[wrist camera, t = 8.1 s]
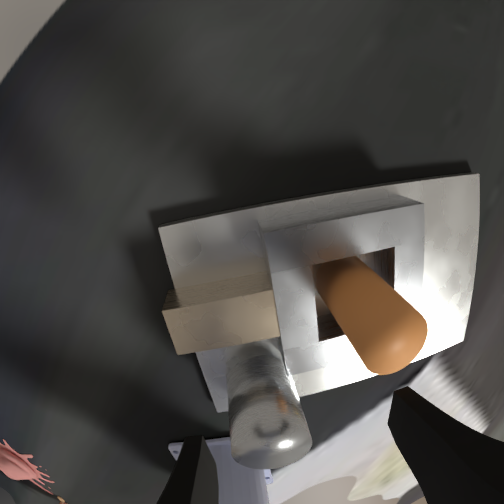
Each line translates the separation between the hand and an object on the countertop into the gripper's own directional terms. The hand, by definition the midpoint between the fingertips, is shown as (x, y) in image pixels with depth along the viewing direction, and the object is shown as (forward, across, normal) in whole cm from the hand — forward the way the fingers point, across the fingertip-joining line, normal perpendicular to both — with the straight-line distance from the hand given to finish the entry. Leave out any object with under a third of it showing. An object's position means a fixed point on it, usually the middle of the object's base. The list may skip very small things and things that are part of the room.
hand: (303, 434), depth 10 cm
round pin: (+9, -5, -2) cm, 10 cm away
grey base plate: (+10, -6, 0) cm, 11 cm away
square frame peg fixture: (+9, -2, -2) cm, 9 cm away
